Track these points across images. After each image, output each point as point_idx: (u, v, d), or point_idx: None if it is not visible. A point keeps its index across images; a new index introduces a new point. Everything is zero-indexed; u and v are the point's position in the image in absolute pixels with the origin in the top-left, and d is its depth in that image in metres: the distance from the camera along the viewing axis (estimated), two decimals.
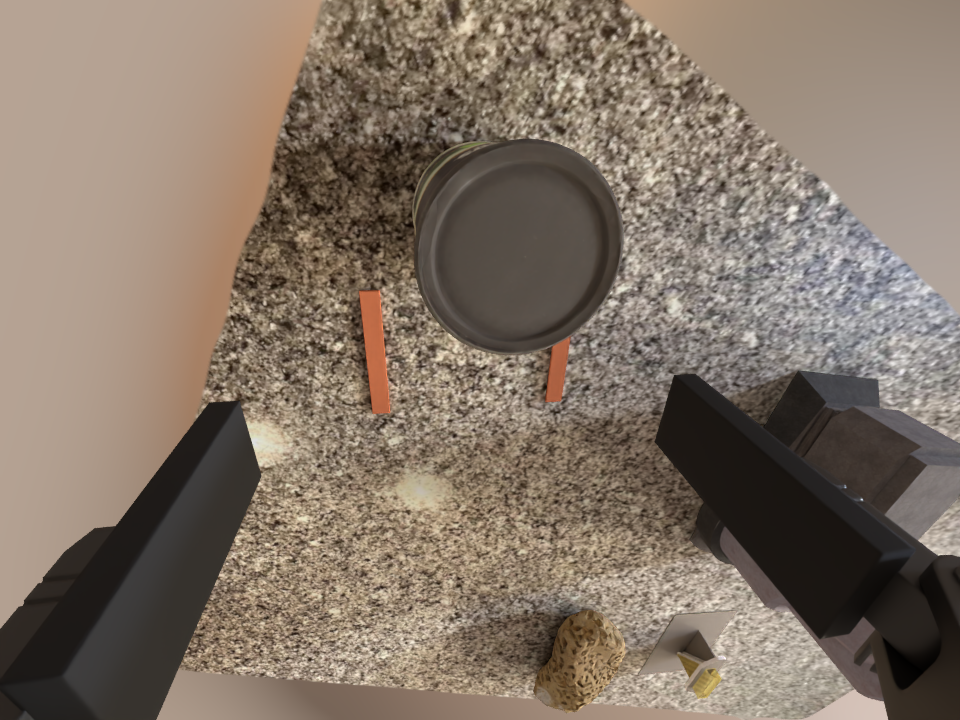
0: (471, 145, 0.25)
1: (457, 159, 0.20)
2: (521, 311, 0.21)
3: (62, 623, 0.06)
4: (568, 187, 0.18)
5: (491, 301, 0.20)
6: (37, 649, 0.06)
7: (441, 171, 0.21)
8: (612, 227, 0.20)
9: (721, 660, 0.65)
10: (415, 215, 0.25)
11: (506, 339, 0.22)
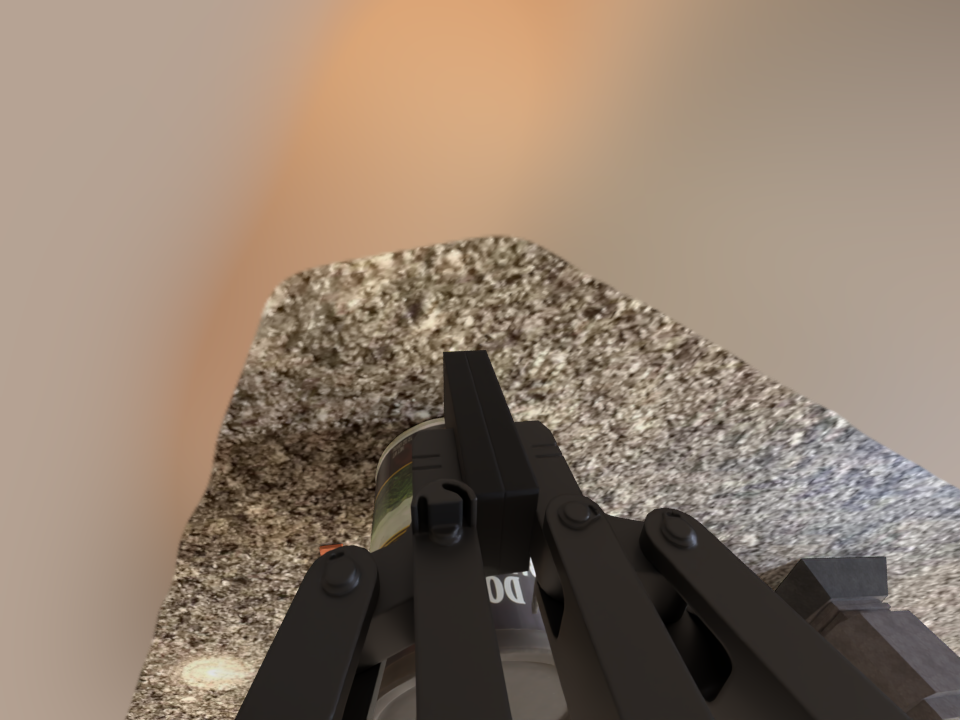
0: None
1: None
2: None
3: (475, 469, 0.09)
4: (533, 667, 0.15)
5: None
6: (475, 480, 0.09)
7: None
8: None
9: None
10: None
11: None
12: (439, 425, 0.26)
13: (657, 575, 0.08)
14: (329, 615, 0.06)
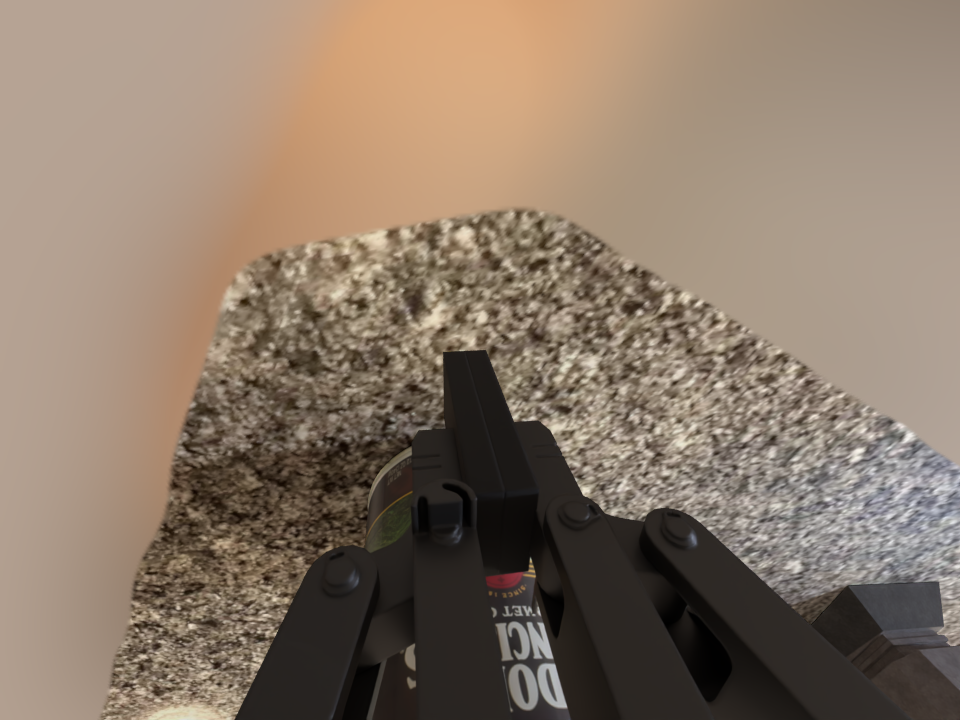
0: None
1: (404, 665, 0.13)
2: None
3: (475, 469, 0.09)
4: None
5: None
6: (475, 480, 0.09)
7: None
8: None
9: None
10: None
11: None
12: None
13: (657, 575, 0.08)
14: (329, 615, 0.06)
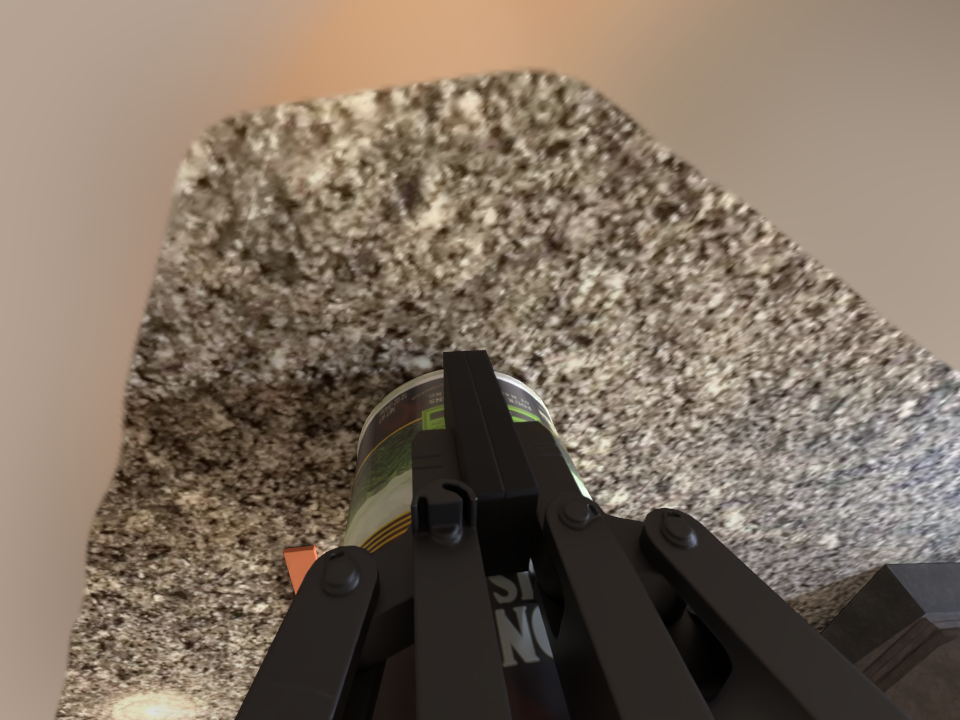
0: None
1: None
2: None
3: (475, 469, 0.09)
4: None
5: None
6: (475, 480, 0.09)
7: None
8: None
9: None
10: None
11: None
12: None
13: (656, 575, 0.08)
14: (329, 615, 0.06)
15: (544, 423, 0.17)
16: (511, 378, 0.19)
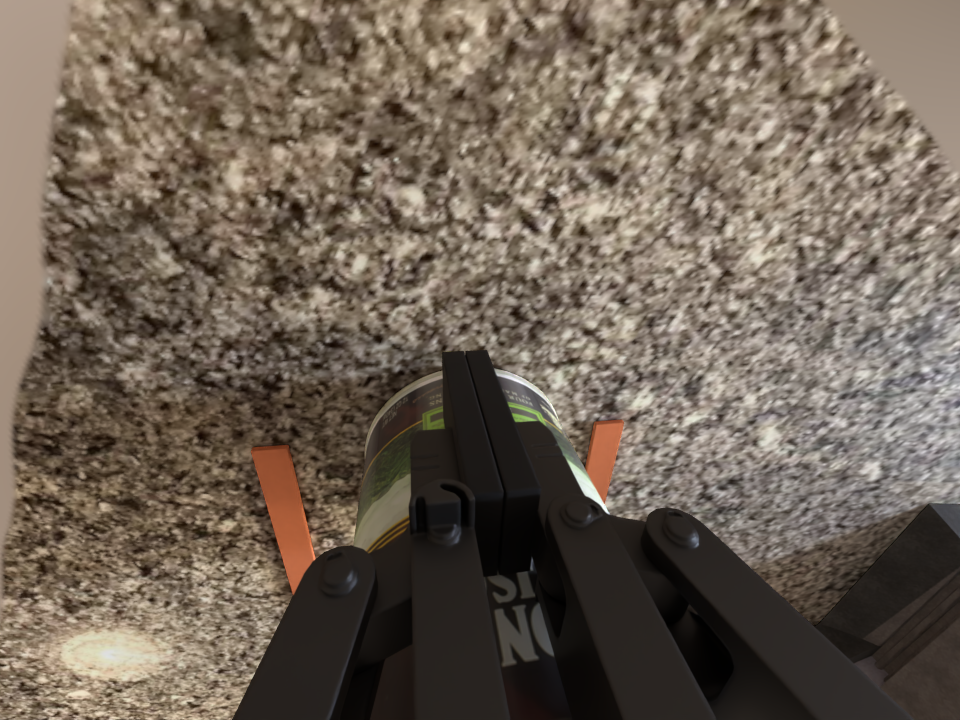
0: None
1: None
2: None
3: (474, 469, 0.09)
4: None
5: None
6: (473, 480, 0.09)
7: None
8: None
9: None
10: None
11: None
12: None
13: (658, 575, 0.08)
14: (327, 615, 0.06)
15: (546, 418, 0.17)
16: (512, 374, 0.19)
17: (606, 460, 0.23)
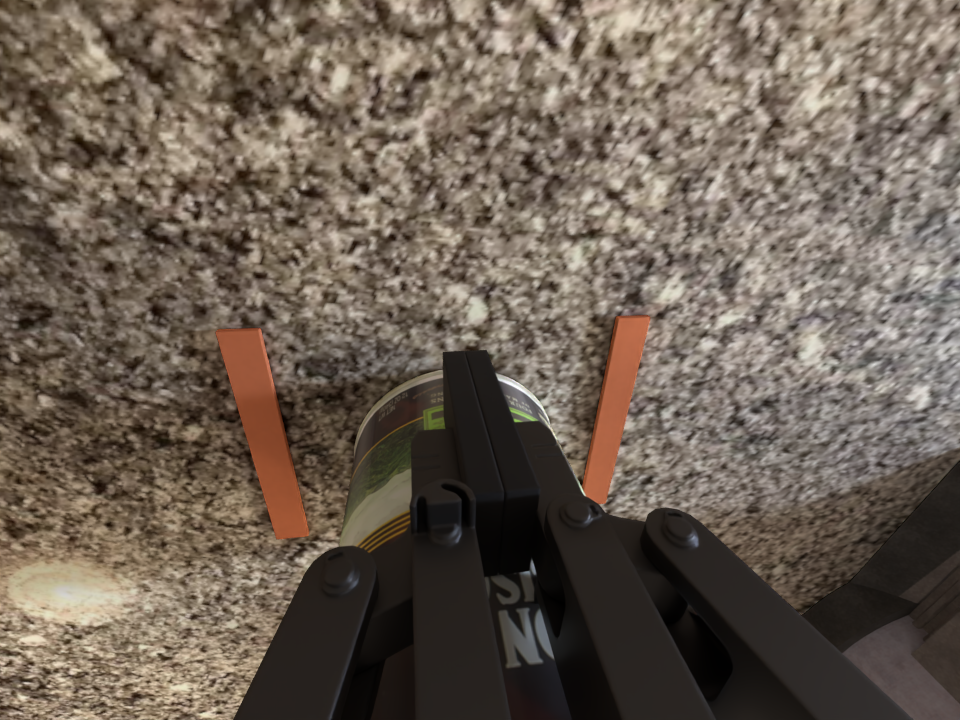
0: None
1: None
2: None
3: (475, 469, 0.09)
4: None
5: None
6: (474, 480, 0.09)
7: None
8: None
9: None
10: None
11: None
12: None
13: (658, 575, 0.08)
14: (328, 615, 0.06)
15: None
16: (512, 381, 0.19)
17: (628, 366, 0.20)
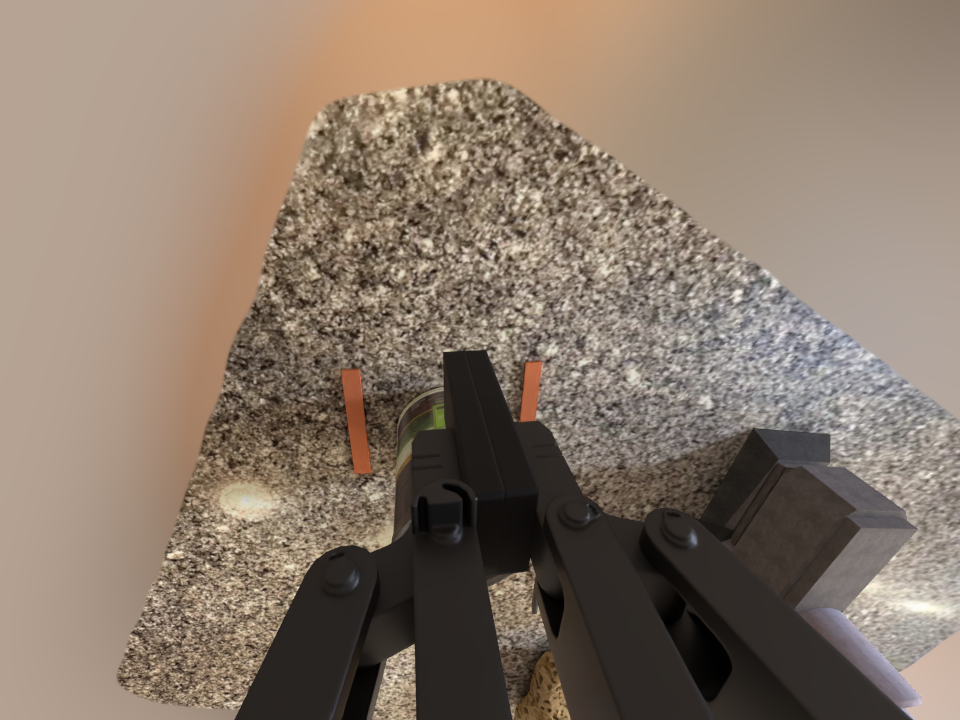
0: (439, 420, 0.34)
1: None
2: None
3: (475, 469, 0.09)
4: None
5: None
6: (475, 480, 0.09)
7: None
8: None
9: None
10: (396, 470, 0.34)
11: None
12: (443, 391, 0.38)
13: (657, 575, 0.08)
14: (329, 615, 0.06)
15: None
16: None
17: (534, 385, 0.40)
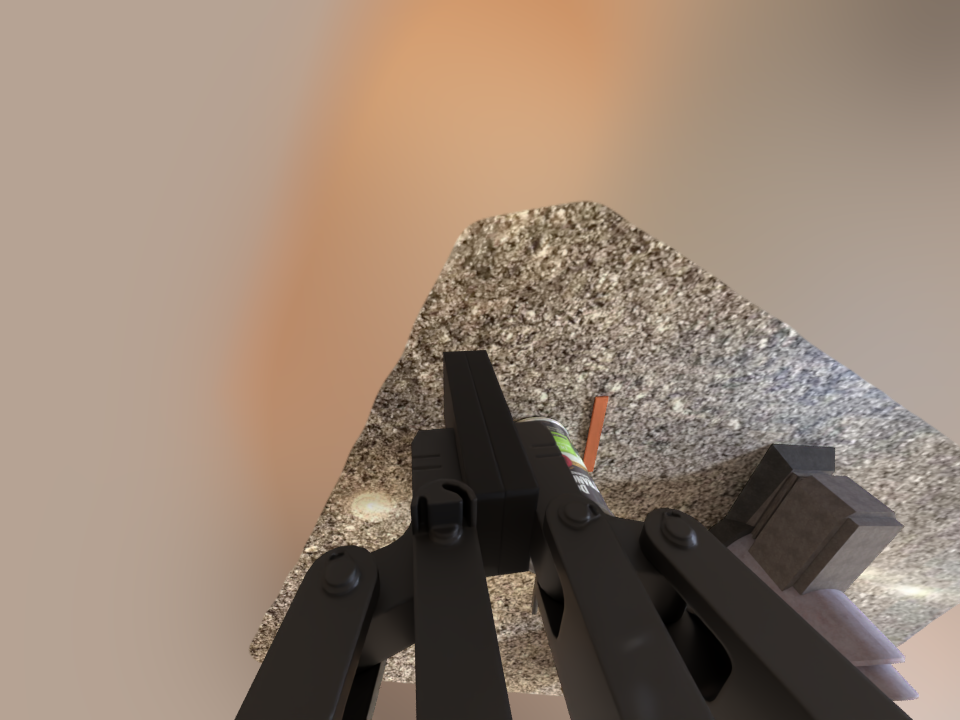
0: None
1: None
2: None
3: (475, 469, 0.09)
4: None
5: None
6: (475, 480, 0.09)
7: None
8: None
9: None
10: None
11: None
12: None
13: (657, 575, 0.08)
14: (329, 615, 0.06)
15: (568, 439, 0.48)
16: (555, 421, 0.50)
17: (600, 414, 0.51)
